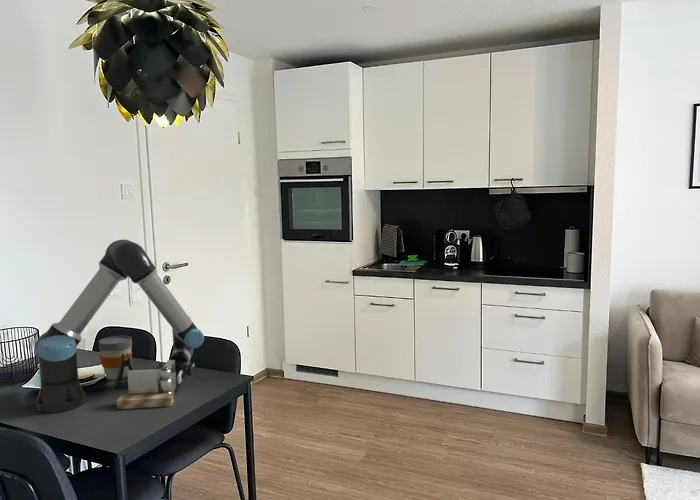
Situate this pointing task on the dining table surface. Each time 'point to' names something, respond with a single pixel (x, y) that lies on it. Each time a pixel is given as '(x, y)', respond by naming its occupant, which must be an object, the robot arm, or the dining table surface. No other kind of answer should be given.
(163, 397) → the oak sill
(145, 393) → the fixed steel leaf
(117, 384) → the dark forked stand
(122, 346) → the reusable coffee cup
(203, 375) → the dining table surface
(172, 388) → the loose hinge leaf
